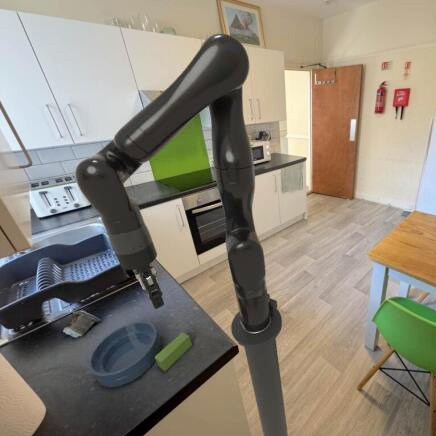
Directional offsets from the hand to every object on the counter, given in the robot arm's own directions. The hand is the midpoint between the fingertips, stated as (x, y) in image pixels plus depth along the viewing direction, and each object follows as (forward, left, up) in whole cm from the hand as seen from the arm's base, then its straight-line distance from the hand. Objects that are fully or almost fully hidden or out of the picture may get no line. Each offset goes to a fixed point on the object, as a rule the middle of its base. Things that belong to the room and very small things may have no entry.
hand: (154, 297), depth 61 cm
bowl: (+8, -10, -21) cm, 24 cm away
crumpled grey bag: (+11, -37, -21) cm, 44 cm away
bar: (+1, +1, -21) cm, 21 cm away
